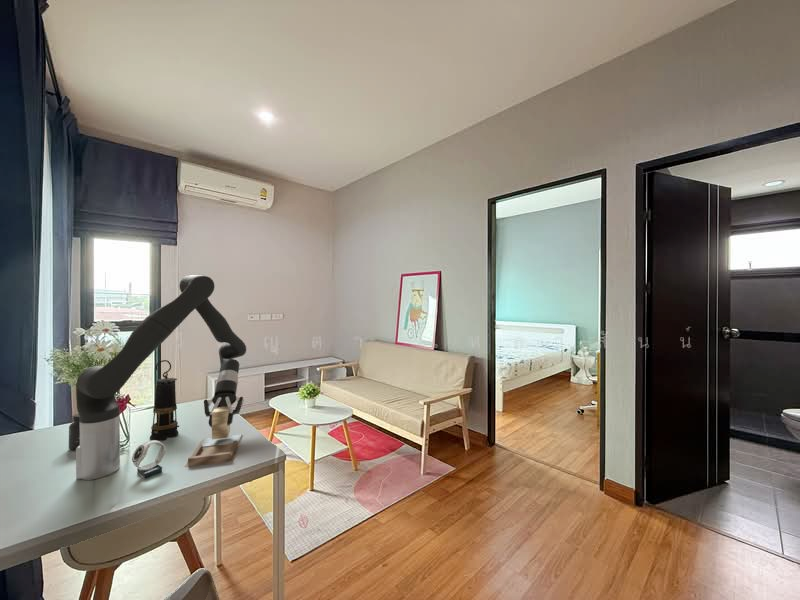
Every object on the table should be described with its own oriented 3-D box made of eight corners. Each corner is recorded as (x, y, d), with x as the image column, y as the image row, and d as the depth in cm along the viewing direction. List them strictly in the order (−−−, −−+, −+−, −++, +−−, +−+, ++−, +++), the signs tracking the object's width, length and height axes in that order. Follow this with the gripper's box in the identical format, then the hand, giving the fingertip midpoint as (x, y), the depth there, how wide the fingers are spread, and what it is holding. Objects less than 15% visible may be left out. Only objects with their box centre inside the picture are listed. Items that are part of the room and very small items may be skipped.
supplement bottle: (81, 451, 114) (81, 418, 114) (62, 451, 114) (62, 417, 114) (100, 442, 121) (100, 411, 121) (82, 442, 121) (82, 410, 121)
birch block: (211, 439, 117) (211, 412, 117) (215, 433, 122) (215, 407, 121) (227, 437, 118) (227, 410, 118) (230, 432, 123) (230, 406, 123)
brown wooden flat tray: (184, 471, 102) (184, 459, 102) (202, 443, 121) (202, 432, 121) (233, 465, 106) (233, 453, 106) (243, 438, 125) (243, 428, 125)
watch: (129, 481, 97) (129, 445, 96) (160, 469, 103) (160, 435, 103) (137, 487, 94) (137, 450, 93) (168, 474, 100) (168, 439, 100)
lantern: (181, 436, 127) (180, 360, 127) (152, 443, 120) (152, 364, 120) (175, 429, 133) (175, 357, 133) (147, 436, 127) (147, 360, 126)
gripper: (204, 380, 125) (195, 423, 113) (245, 377, 129) (240, 419, 118) (208, 390, 130) (200, 431, 119) (247, 387, 134) (242, 427, 123)
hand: (220, 425), depth 118 cm, fingers closed on birch block, 5 cm apart
